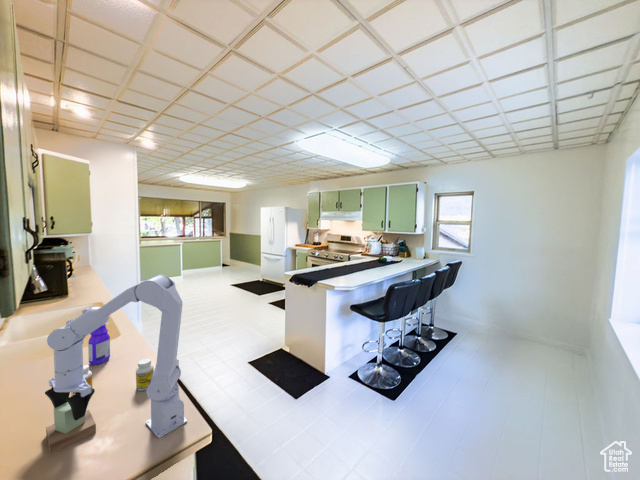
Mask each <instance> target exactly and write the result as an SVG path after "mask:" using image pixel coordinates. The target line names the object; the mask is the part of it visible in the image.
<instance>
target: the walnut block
mask: <svg viewBox="0 0 640 480" xmlns="http://www.w3.org/2000/svg"><path fill="white" fill-rule="evenodd" d="M96 425H97V423H96V421H95V419H94V418H93V415H92V413H91V411H90V409H86V413H85V422H84V423H82V424H81V425H79V426H78V427H76V428H74V429H73V430H71V431H70V432H68V433H66V434H65V433H62V432H59V431H56V430H55V423H53V424H51V425H48V426H46V427H45V430H46V432H45V433H46V441H47V446H48V450H49V454H50V455H51V454H53V453H55V452H58V451H60V450H62V449H64V448H66V447H68V446H70V445H72V444H75V443H77V442H79V441H81V440H83V439H85V438H87V437H90V436H92V435H93V434H95V433H97V426H96Z"/></svg>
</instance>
